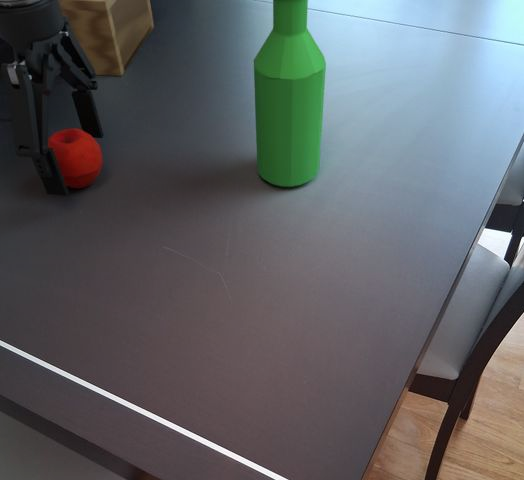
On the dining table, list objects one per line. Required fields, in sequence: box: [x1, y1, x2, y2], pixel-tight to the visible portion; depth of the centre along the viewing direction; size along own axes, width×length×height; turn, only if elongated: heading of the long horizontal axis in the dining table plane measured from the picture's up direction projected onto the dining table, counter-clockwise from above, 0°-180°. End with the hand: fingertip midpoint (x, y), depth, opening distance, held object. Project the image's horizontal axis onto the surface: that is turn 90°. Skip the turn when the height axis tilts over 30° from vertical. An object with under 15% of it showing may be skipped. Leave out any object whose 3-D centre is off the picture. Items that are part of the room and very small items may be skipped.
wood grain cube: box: [58, 0, 155, 77], centre depth 102 cm, size 16×20×12 cm
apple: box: [48, 128, 103, 189], centre depth 78 cm, size 8×8×7 cm
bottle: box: [253, 0, 327, 188], centre depth 71 cm, size 9×9×25 cm
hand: (77, 163), depth 79 cm, fingers open, 13 cm apart
